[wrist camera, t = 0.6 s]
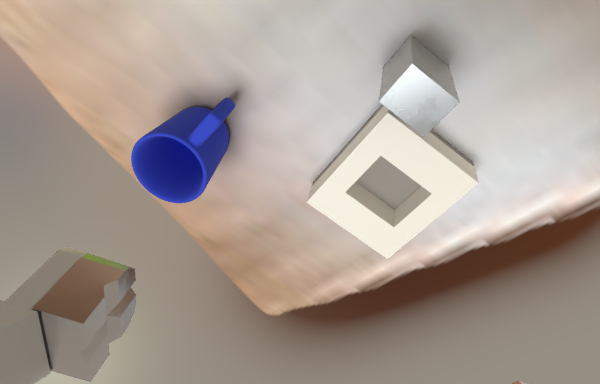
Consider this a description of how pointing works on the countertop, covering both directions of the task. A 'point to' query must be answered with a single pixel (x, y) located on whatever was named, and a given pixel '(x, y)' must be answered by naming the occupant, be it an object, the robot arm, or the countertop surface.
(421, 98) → the grey brushed prism
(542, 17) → the countertop surface
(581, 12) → the countertop surface
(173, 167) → the mug
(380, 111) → the well block
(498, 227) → the countertop surface
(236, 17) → the countertop surface
